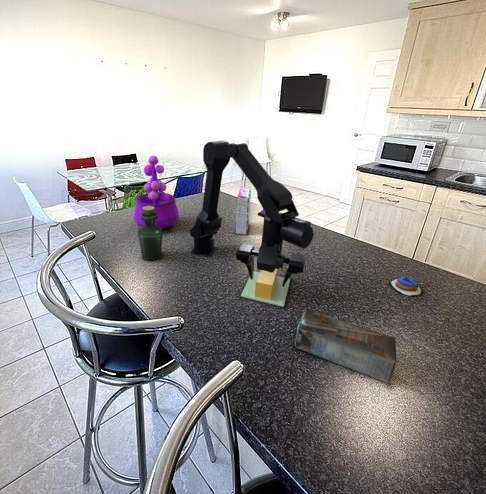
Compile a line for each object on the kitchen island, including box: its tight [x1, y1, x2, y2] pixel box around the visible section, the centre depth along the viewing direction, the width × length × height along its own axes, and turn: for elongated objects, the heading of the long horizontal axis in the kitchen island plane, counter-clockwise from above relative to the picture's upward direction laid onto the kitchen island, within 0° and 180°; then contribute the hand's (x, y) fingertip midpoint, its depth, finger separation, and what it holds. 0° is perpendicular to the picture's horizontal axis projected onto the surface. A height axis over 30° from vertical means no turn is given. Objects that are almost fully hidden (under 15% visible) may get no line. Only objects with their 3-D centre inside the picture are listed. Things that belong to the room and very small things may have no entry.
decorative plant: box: [133, 155, 180, 230], centre depth 120 cm, size 19×18×30 cm
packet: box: [255, 268, 280, 300], centre depth 85 cm, size 12×4×5 cm, turn 159°
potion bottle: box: [137, 206, 163, 262], centre depth 98 cm, size 8×8×18 cm
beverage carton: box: [294, 308, 397, 384], centre depth 63 cm, size 8×19×7 cm, turn 61°
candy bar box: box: [235, 188, 252, 236], centre depth 121 cm, size 11×5×16 cm, turn 168°
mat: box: [240, 270, 291, 308], centre depth 86 cm, size 12×14×1 cm
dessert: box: [390, 274, 422, 296], centre depth 87 cm, size 8×7×6 cm
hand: (267, 282), depth 86 cm, fingers open, 9 cm apart
